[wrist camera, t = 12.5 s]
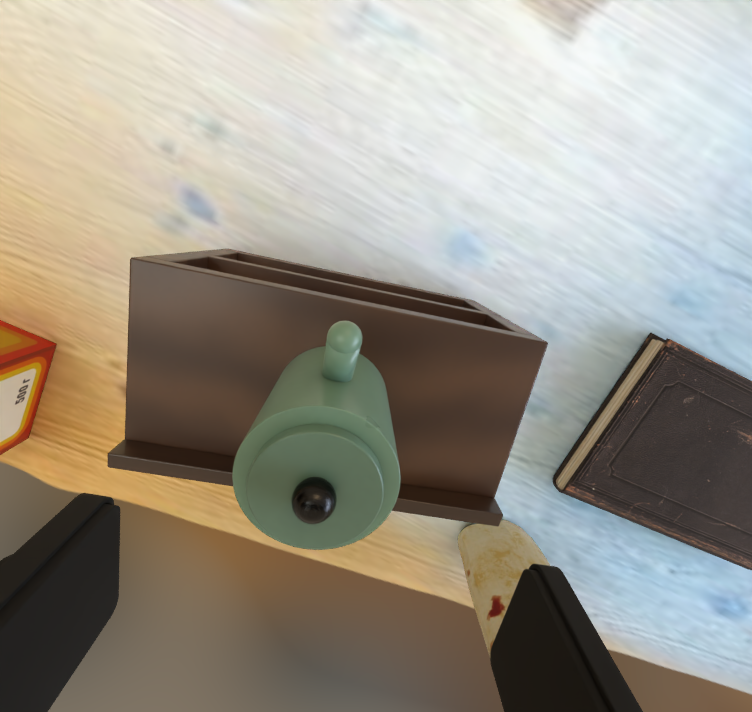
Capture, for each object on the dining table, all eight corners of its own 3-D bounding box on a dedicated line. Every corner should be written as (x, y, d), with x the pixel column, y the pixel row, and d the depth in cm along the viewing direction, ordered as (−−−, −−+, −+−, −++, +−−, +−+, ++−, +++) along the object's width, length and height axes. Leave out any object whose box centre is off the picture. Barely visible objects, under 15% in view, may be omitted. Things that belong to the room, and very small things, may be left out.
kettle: (291, 284, 18) (233, 325, 10) (409, 308, 18) (448, 366, 10) (269, 438, 20) (206, 576, 12) (374, 455, 21) (384, 599, 13)
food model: (437, 545, 39) (511, 842, 20) (476, 496, 37) (597, 767, 18) (513, 583, 41) (649, 887, 22) (554, 538, 39) (737, 823, 20)
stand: (226, 248, 30) (110, 259, 16) (474, 300, 32) (563, 350, 18) (214, 369, 33) (106, 467, 19) (443, 410, 35) (499, 527, 21)
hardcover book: (650, 332, 33) (670, 339, 31) (842, 430, 37) (872, 443, 35) (549, 480, 37) (561, 495, 35) (732, 556, 41) (753, 574, 39)
